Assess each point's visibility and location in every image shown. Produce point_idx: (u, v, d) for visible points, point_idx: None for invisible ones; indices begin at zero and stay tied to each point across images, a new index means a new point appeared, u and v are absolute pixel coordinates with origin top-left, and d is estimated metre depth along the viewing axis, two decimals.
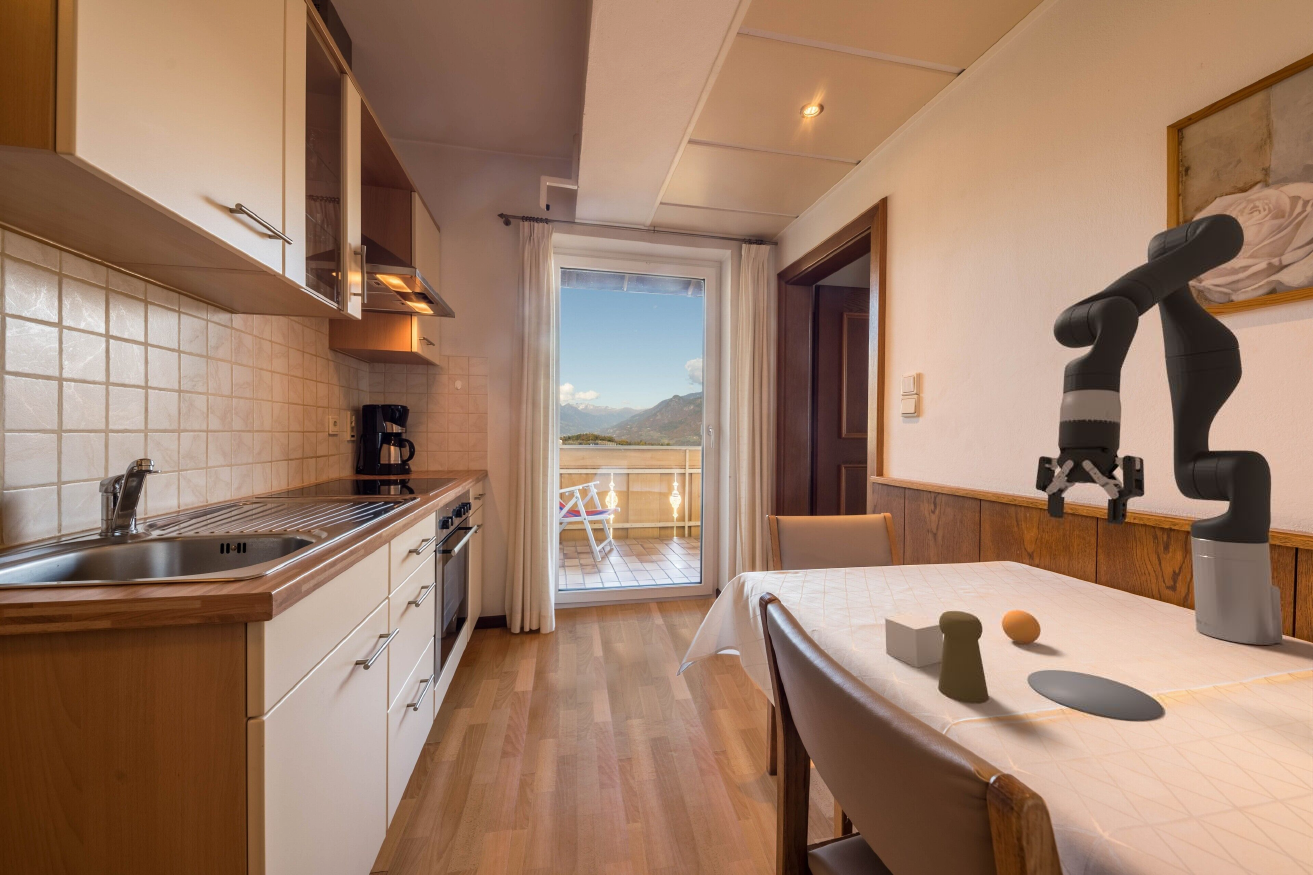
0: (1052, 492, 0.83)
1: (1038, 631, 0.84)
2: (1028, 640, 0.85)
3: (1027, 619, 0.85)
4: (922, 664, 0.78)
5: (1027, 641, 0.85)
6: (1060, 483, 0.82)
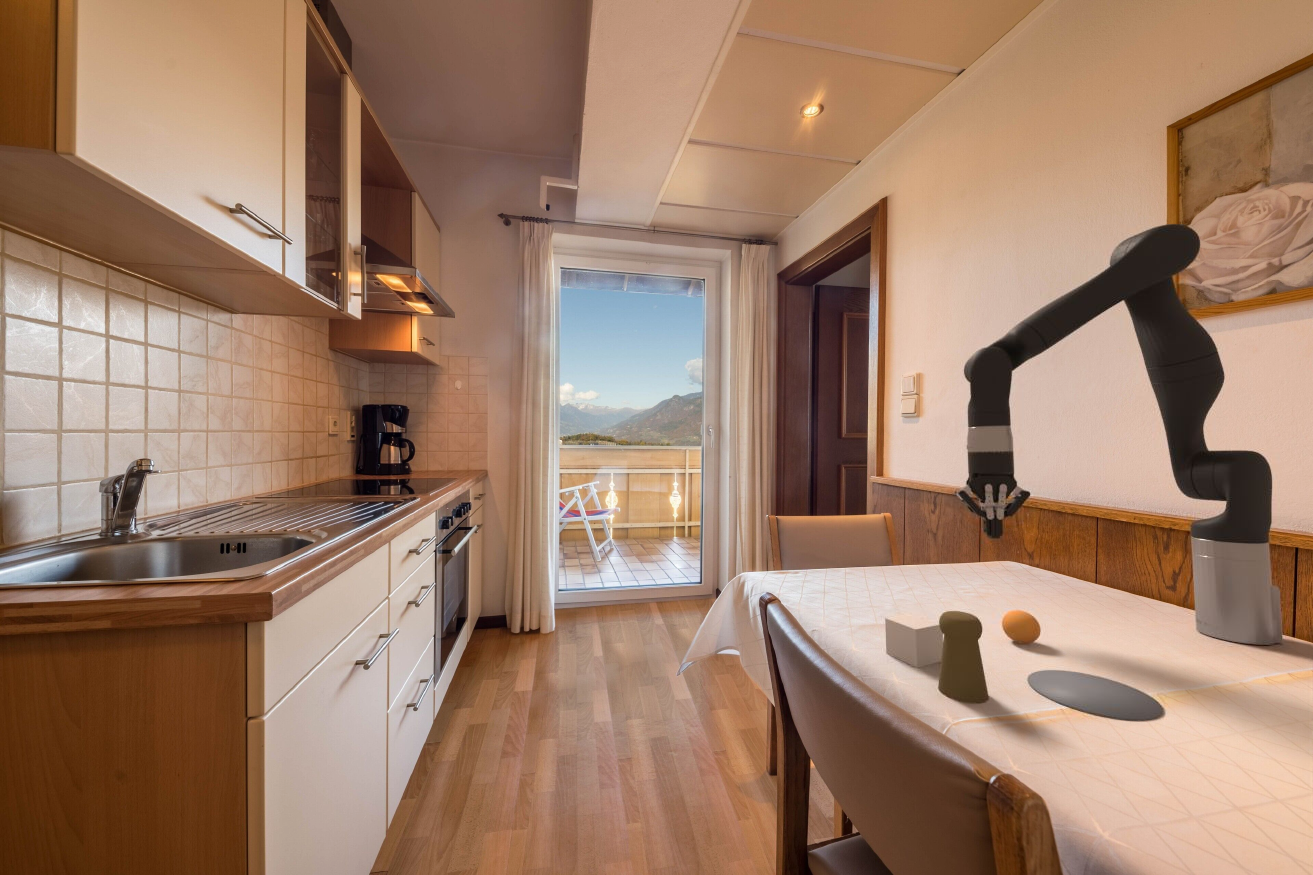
0: None
1: (1038, 631, 0.84)
2: (1028, 640, 0.85)
3: (1027, 619, 0.85)
4: (922, 664, 0.78)
5: (1027, 641, 0.85)
6: None
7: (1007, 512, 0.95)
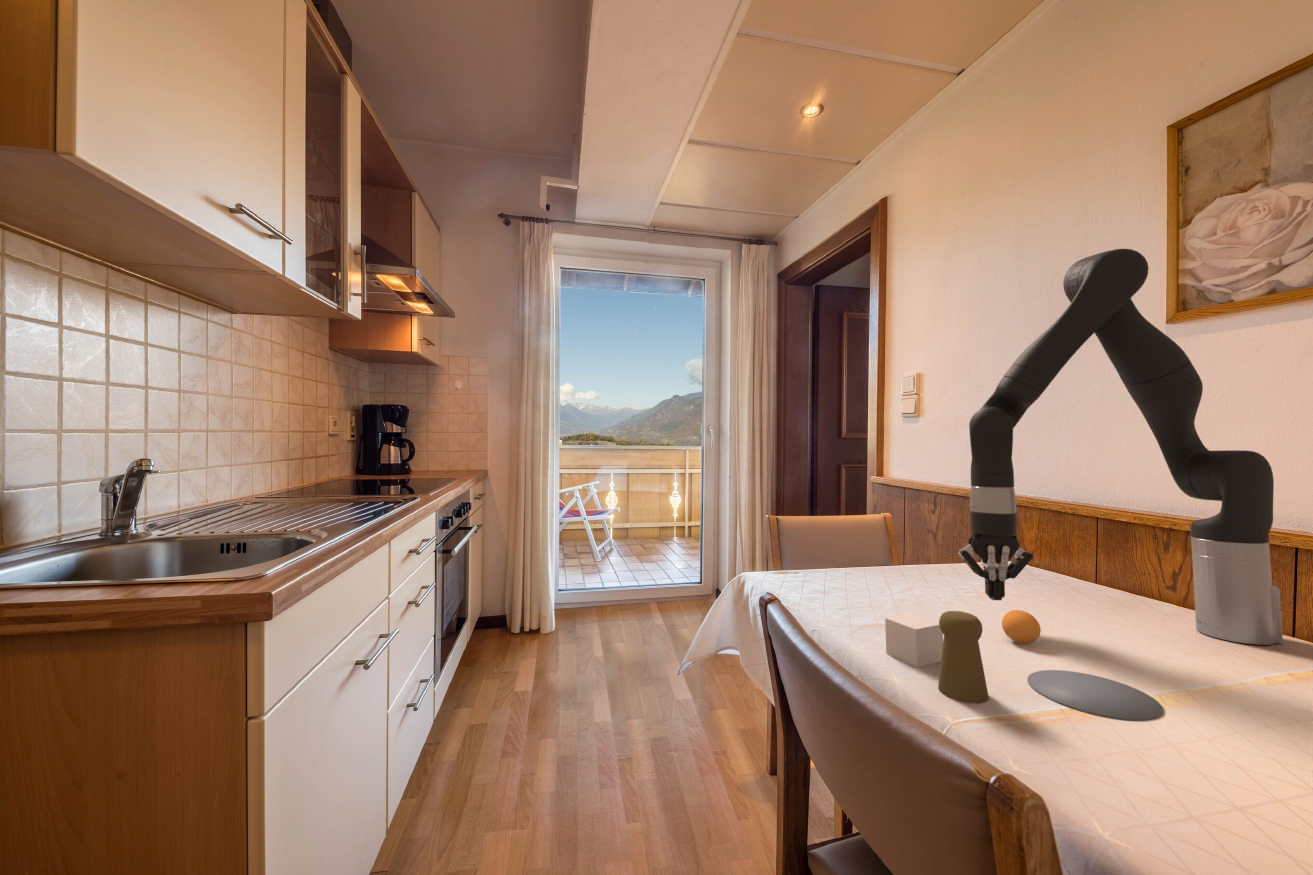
0: None
1: (1038, 631, 0.84)
2: (1028, 640, 0.85)
3: (1027, 619, 0.85)
4: (922, 664, 0.78)
5: (1027, 641, 0.85)
6: None
7: (1009, 573, 0.94)
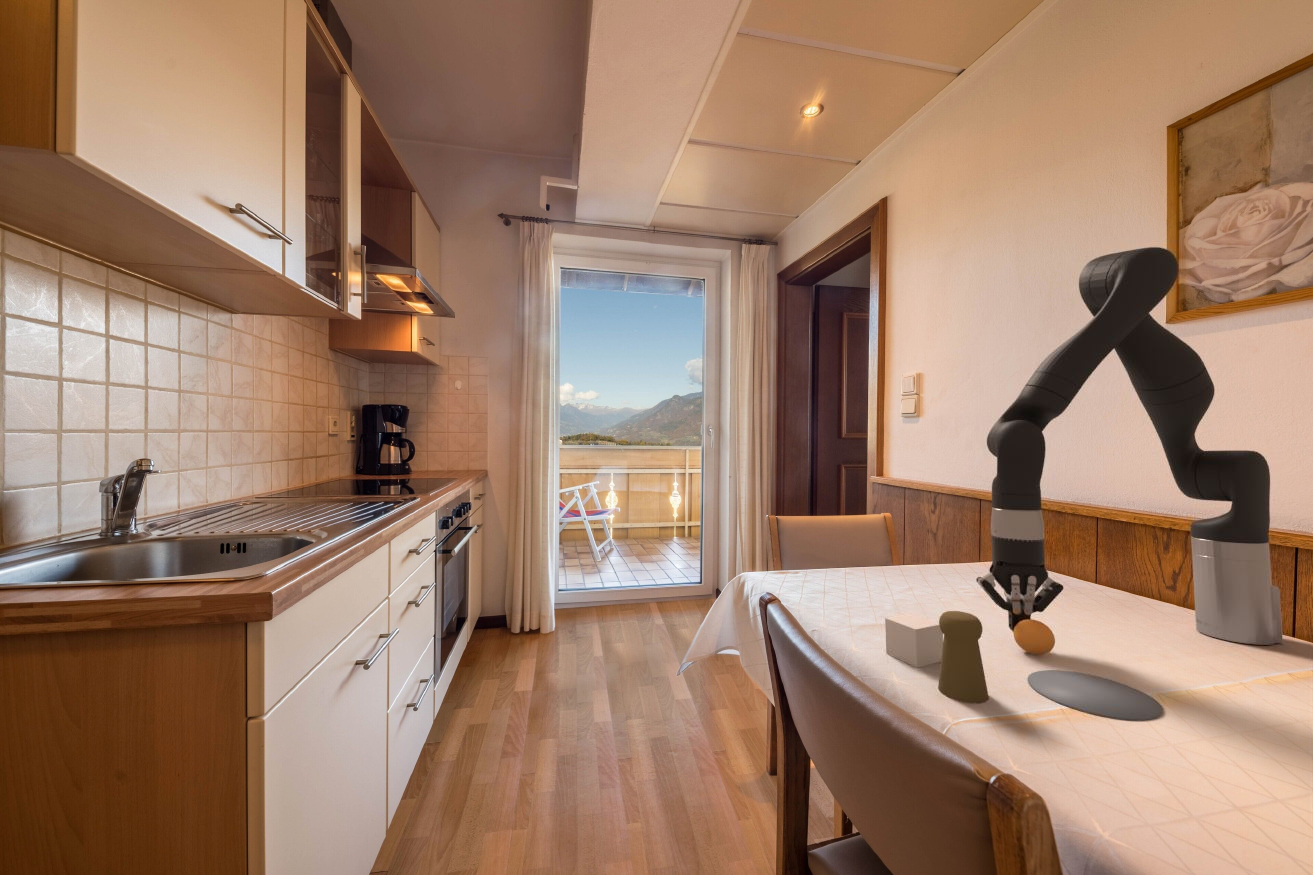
0: None
1: None
2: None
3: (1042, 650, 0.80)
4: (922, 664, 0.78)
5: None
6: None
7: (1036, 606, 0.84)
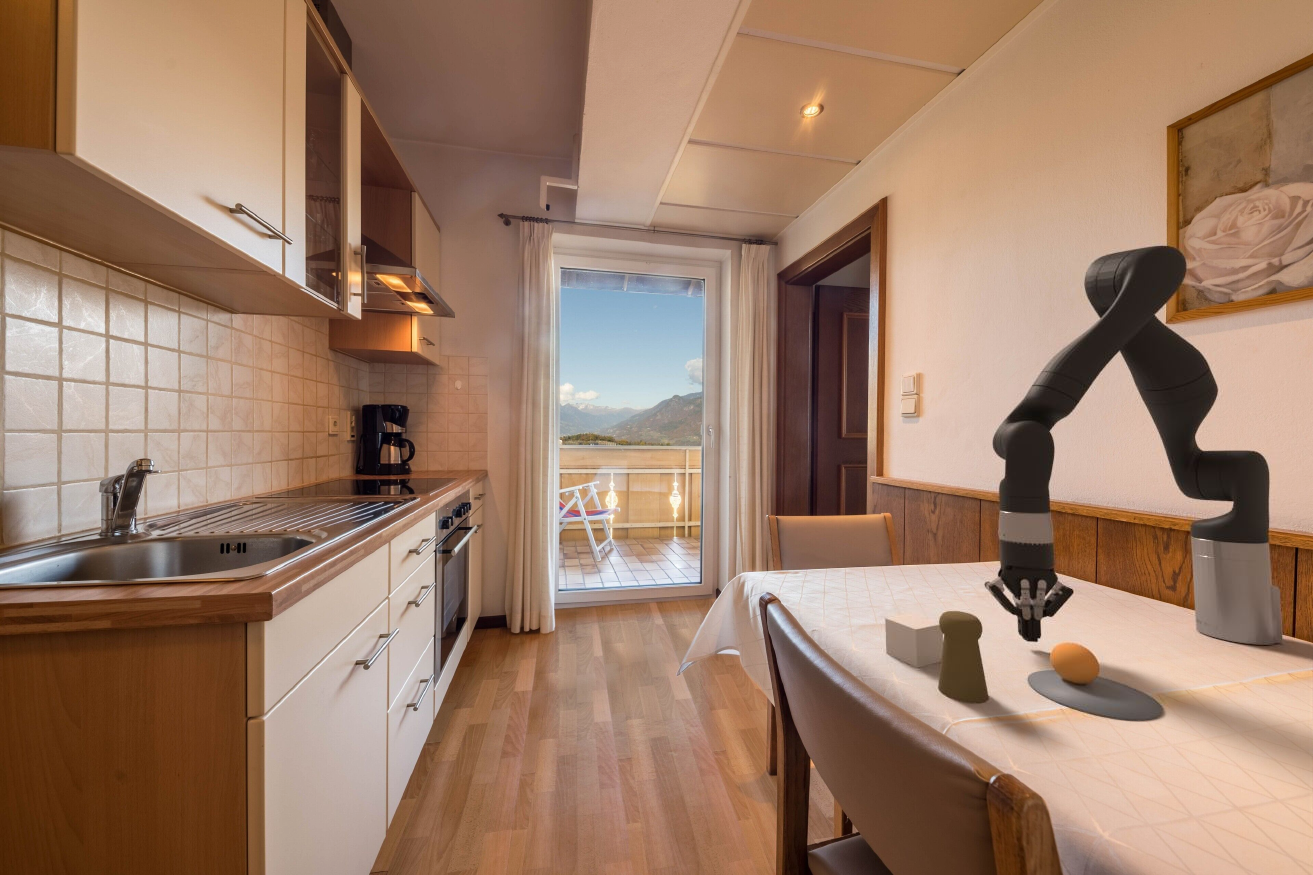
0: None
1: None
2: (1087, 659, 0.69)
3: None
4: (922, 664, 0.78)
5: (1088, 662, 0.69)
6: None
7: (1046, 611, 0.83)
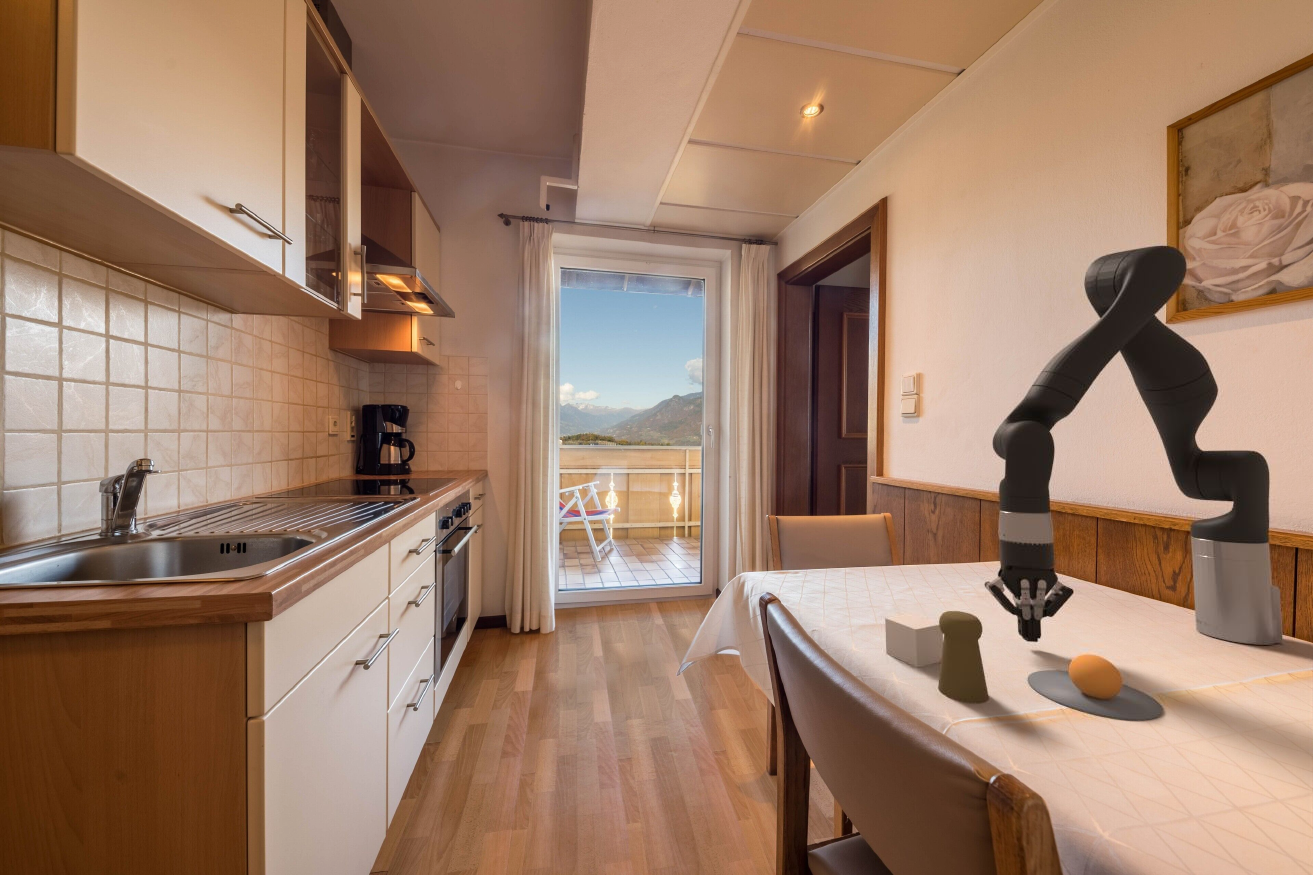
0: None
1: (1120, 689, 0.65)
2: (1105, 698, 0.66)
3: (1108, 678, 0.65)
4: (922, 664, 0.78)
5: (1103, 698, 0.66)
6: None
7: (1046, 611, 0.83)
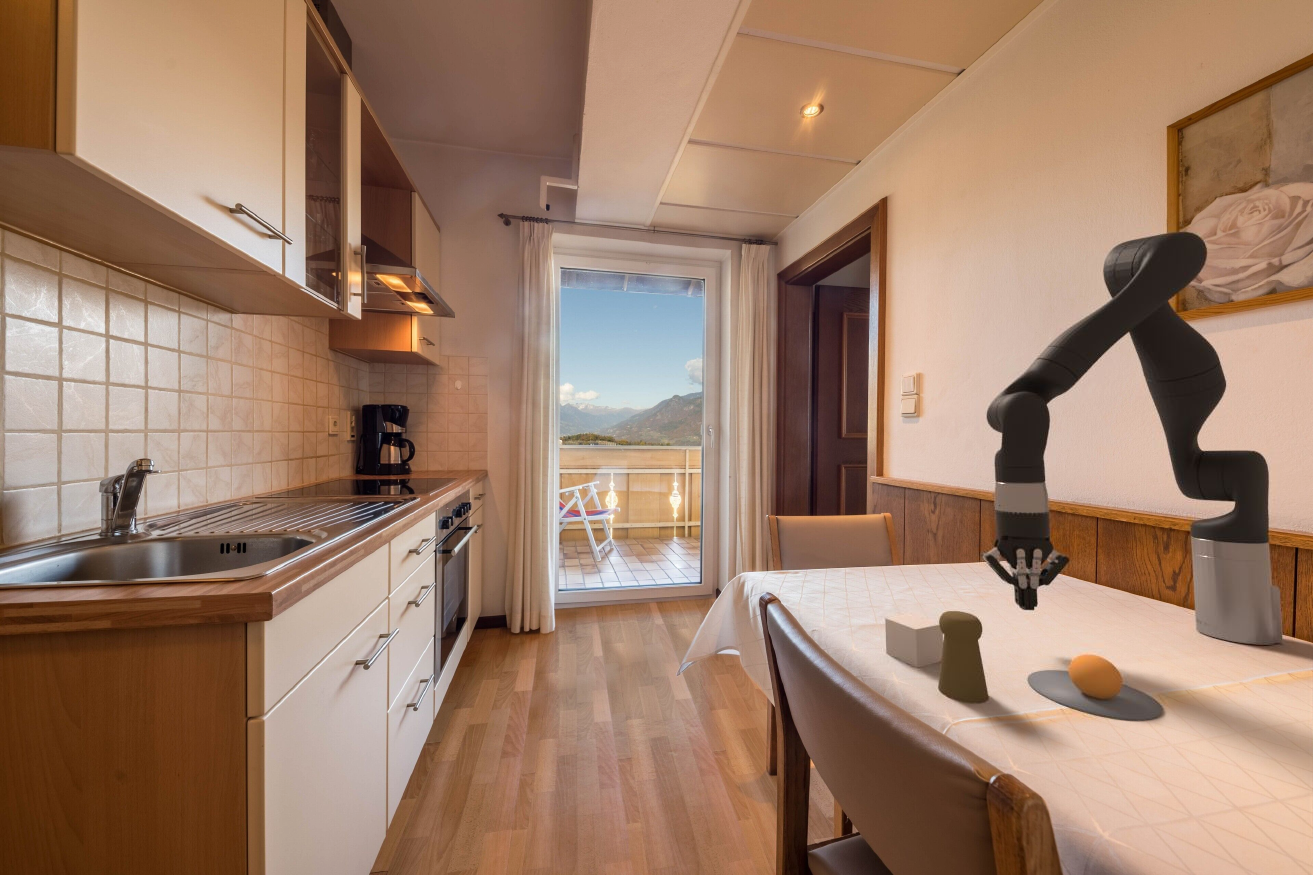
0: None
1: (1120, 689, 0.65)
2: (1105, 698, 0.66)
3: (1108, 678, 0.65)
4: (922, 664, 0.78)
5: (1103, 698, 0.66)
6: None
7: (1042, 580, 0.83)
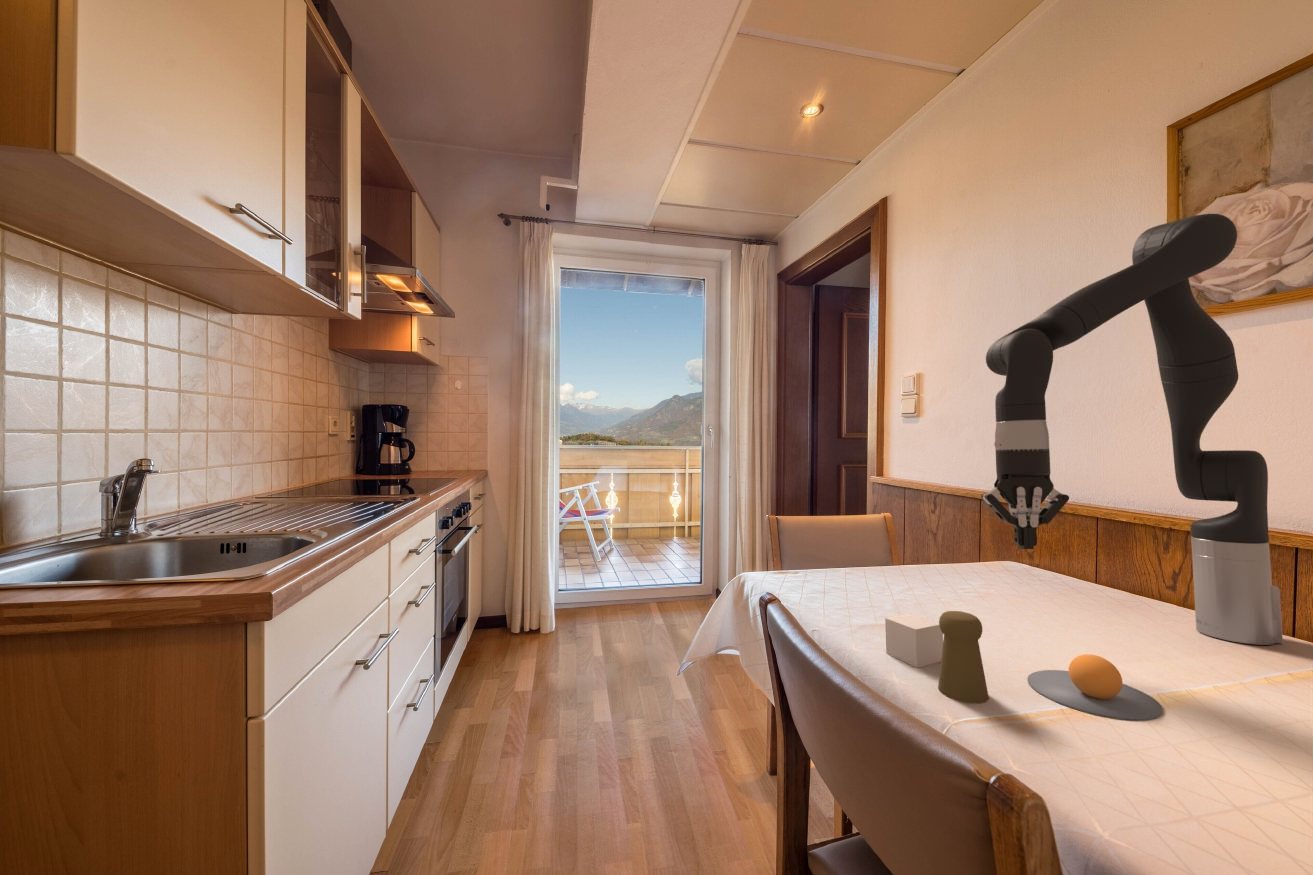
0: None
1: (1120, 689, 0.65)
2: (1105, 698, 0.66)
3: (1108, 678, 0.65)
4: (922, 664, 0.78)
5: (1103, 698, 0.66)
6: None
7: (1042, 518, 0.83)
